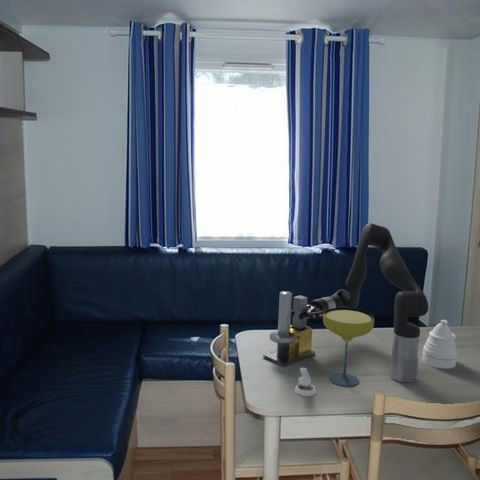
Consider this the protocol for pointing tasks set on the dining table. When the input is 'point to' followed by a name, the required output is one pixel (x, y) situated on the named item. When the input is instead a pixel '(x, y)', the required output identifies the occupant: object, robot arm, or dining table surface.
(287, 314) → the flanged pole stand
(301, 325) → the grey square peg
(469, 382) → the dining table surface
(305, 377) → the white vr controller
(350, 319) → the cocktail glass
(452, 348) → the honey pot
